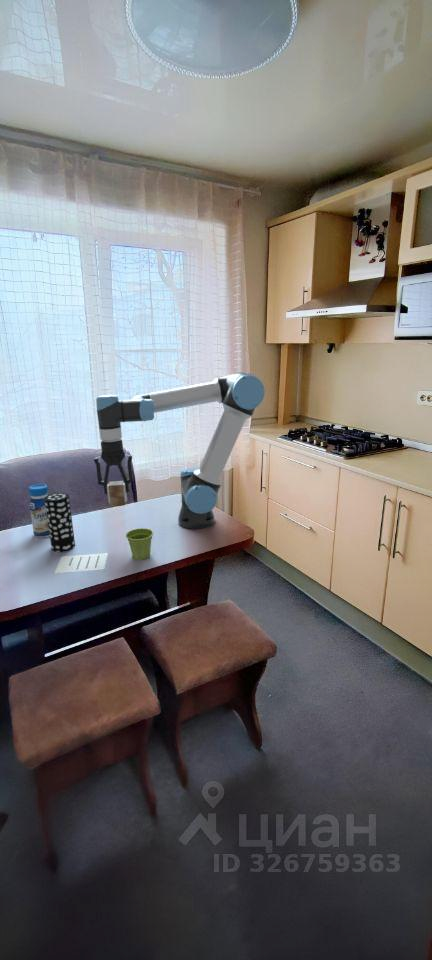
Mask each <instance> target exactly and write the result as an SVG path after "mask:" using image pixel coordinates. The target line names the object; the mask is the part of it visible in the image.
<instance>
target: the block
mask: <svg viewBox="0 0 432 960" xmlns="http://www.w3.org/2000/svg"><path fill="white" fill-rule="evenodd" d="M123 483H124V480H116V481H115V480H114V481H109V482H108V484H109V495H110V503H109V504H110V507H112V508H113V507H123V506H124V507H125V506H126V502H125V501H124V491H123Z"/></svg>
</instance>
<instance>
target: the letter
mask: <svg viewBox="0 0 432 960" xmlns="http://www.w3.org/2000/svg"><path fill="white" fill-rule="evenodd" d="M108 555H109V553H108V552H104V553H103V552H102V553H92V554H91V553H90V554H81V555H80V554H78V555H66V556H61V558H60V560H59V562H58V564H57V566H56V569H55V570H54V574H62V573H63V574H64V573H73V572H74V573H76V572H84V571H85V572H88V571H100V570H101V571H102V570H105V568H106V563H107V559H108Z"/></svg>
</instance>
